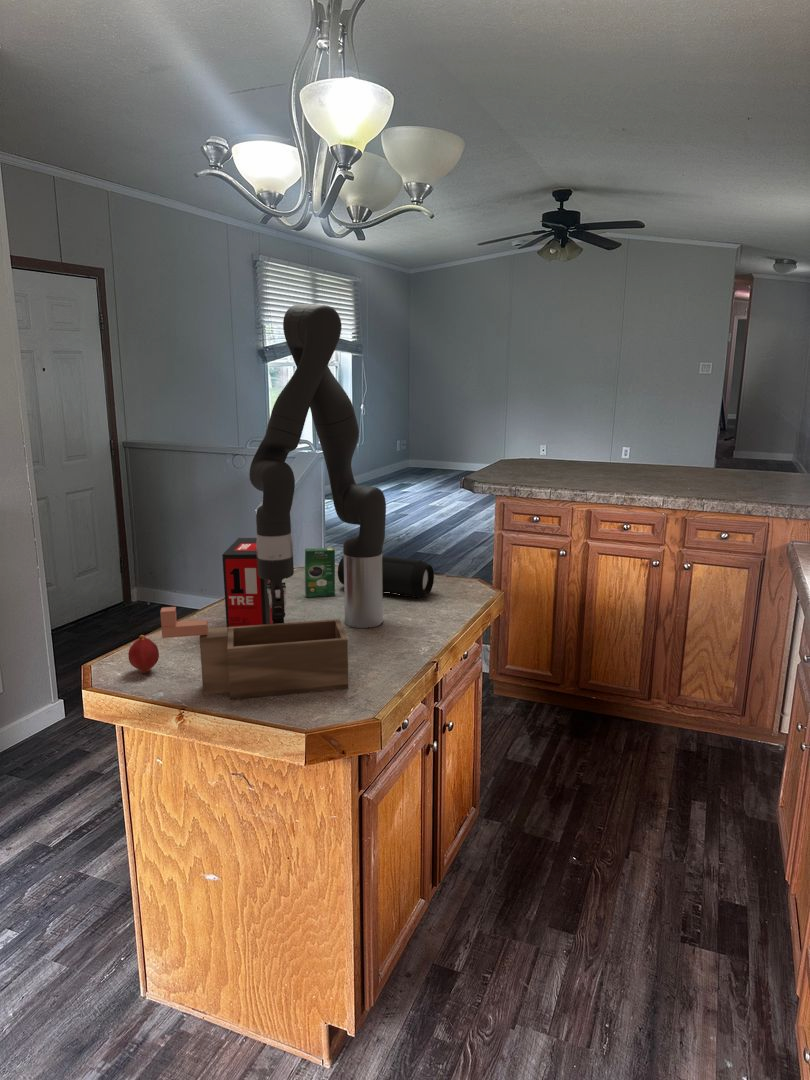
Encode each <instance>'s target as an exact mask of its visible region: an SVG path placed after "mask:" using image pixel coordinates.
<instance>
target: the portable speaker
mask: <svg viewBox="0 0 810 1080" xmlns="http://www.w3.org/2000/svg"><path fill="white" fill-rule="evenodd" d="M338 563H339V564H338V565H337V578H338V581H339V583H341V585H344V555H343V556H342V557H341V558H340V561H339V562H338ZM382 565H383V592H390V593H397V594H400V595H399V596H402V595H407V596H406V597H409V596H415V597H414V598H419V597H418V596H421V597H426V596H428V595H429V594H430V593H431V591H432V589H433V586H434V582H435V571H434V568H433V566H432V564H429V563H427V562H426V561H423V560H420V559H413V558H412V559H410V558H402V557H393V556H385V555H382Z"/></svg>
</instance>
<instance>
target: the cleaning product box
mask: <svg viewBox="0 0 810 1080" xmlns="http://www.w3.org/2000/svg"><path fill="white" fill-rule="evenodd" d="M256 541H257V537H238V538H237V539H235V541H234V542H233V543H232V544H231V545H230V546H229V547H228V548H227V549H226V550H224V552H223V554H222V556H221V557H222V571H223V572H222V573H223V586H224V587H223V588H224V606H225V620H226V623H225V624H226V627H236V626H250V625H264V624H273V621H272V608H270V607H269V598H268V594H267V583H270V580H268V579H267V580H265V579H262V578H260V577H259V576H258V571H257V550H256Z"/></svg>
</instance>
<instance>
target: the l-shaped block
mask: <svg viewBox="0 0 810 1080" xmlns="http://www.w3.org/2000/svg"><path fill="white" fill-rule="evenodd" d="M159 614H160V625H161V638H162V639H169V638H170V639H171V638H182V637H183V638H184V637H193V636H194V637H196V636H197V637H199V636H200V635H207V633H208V629H209V627H208V626H209V624H208V619H195V620H194V619H193V620H180V621H178V618H177V606H168V607H167V606H165V607H161V609H160V612H159Z"/></svg>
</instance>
